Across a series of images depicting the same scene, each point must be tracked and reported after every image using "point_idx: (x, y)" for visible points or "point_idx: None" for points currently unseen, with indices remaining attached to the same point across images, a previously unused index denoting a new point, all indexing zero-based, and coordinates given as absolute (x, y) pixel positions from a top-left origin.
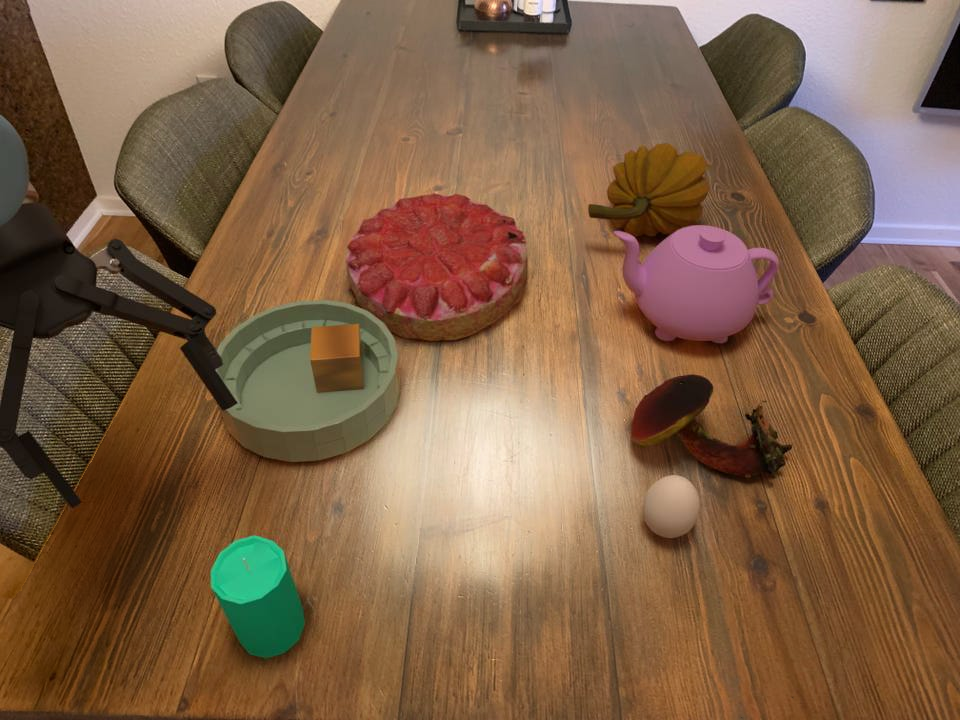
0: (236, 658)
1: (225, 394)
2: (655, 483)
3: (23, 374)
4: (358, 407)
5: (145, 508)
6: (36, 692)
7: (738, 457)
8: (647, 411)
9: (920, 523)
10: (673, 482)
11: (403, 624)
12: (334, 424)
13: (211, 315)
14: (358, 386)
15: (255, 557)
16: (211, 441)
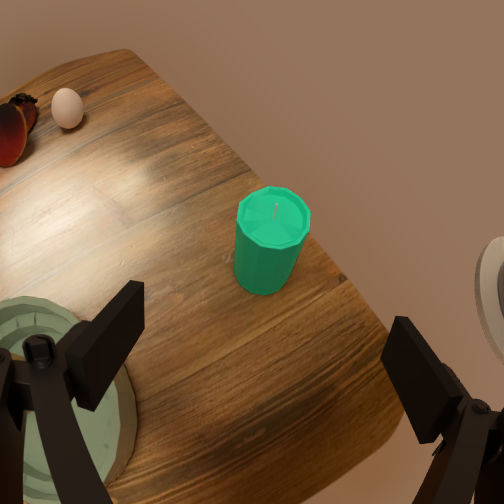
0: (297, 272)
1: (130, 290)
2: (58, 107)
3: (443, 486)
4: (46, 305)
5: (252, 455)
6: None
7: (29, 108)
8: (8, 133)
9: (50, 72)
10: (60, 92)
11: (202, 195)
12: (72, 314)
13: (3, 350)
14: (23, 360)
15: (259, 223)
16: (151, 463)
